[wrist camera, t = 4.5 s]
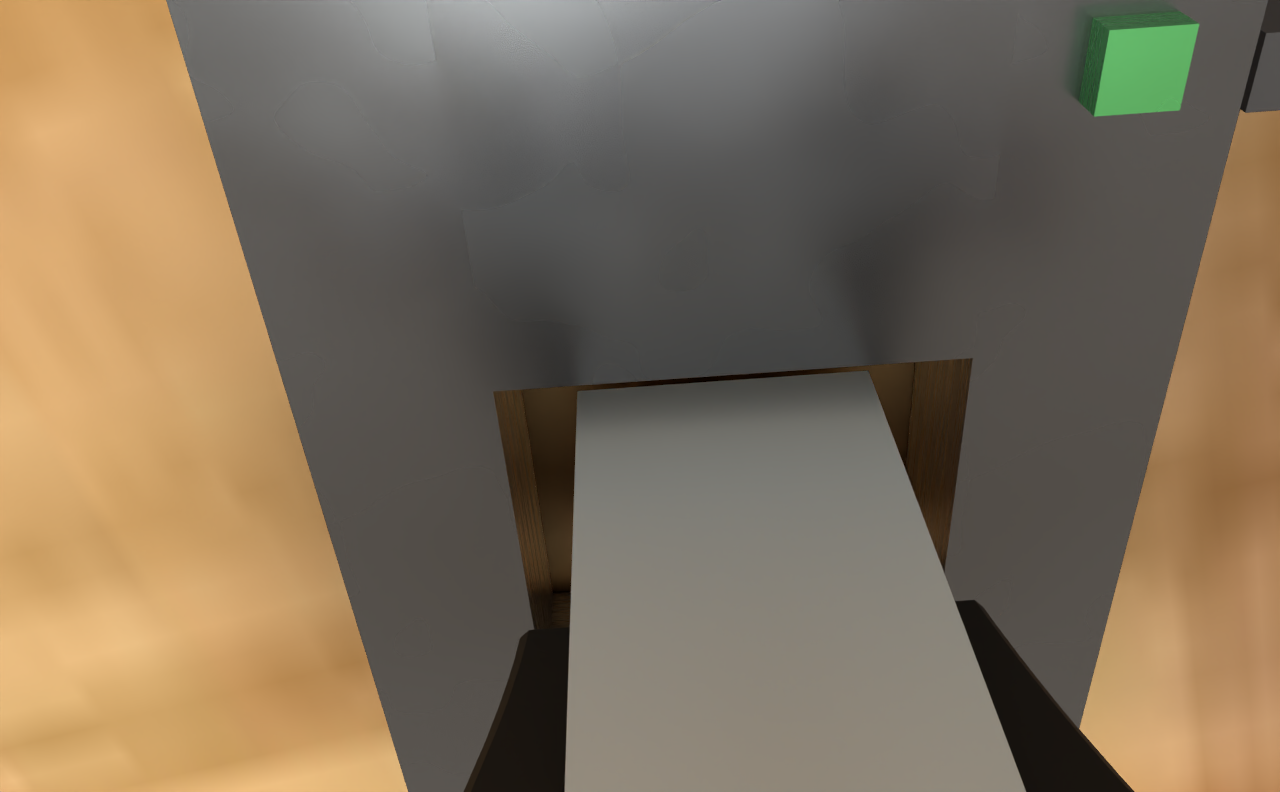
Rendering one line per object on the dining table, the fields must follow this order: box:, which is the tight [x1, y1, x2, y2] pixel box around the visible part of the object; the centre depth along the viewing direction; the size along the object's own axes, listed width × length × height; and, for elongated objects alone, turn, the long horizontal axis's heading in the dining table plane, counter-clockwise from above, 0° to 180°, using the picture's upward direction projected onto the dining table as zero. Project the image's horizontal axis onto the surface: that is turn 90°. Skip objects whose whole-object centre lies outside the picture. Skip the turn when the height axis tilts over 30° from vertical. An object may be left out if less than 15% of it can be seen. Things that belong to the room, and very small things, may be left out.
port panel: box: [166, 0, 1268, 792], centre depth 14 cm, size 10×16×3 cm, turn 4°
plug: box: [565, 371, 1026, 792], centre depth 11 cm, size 4×4×8 cm
